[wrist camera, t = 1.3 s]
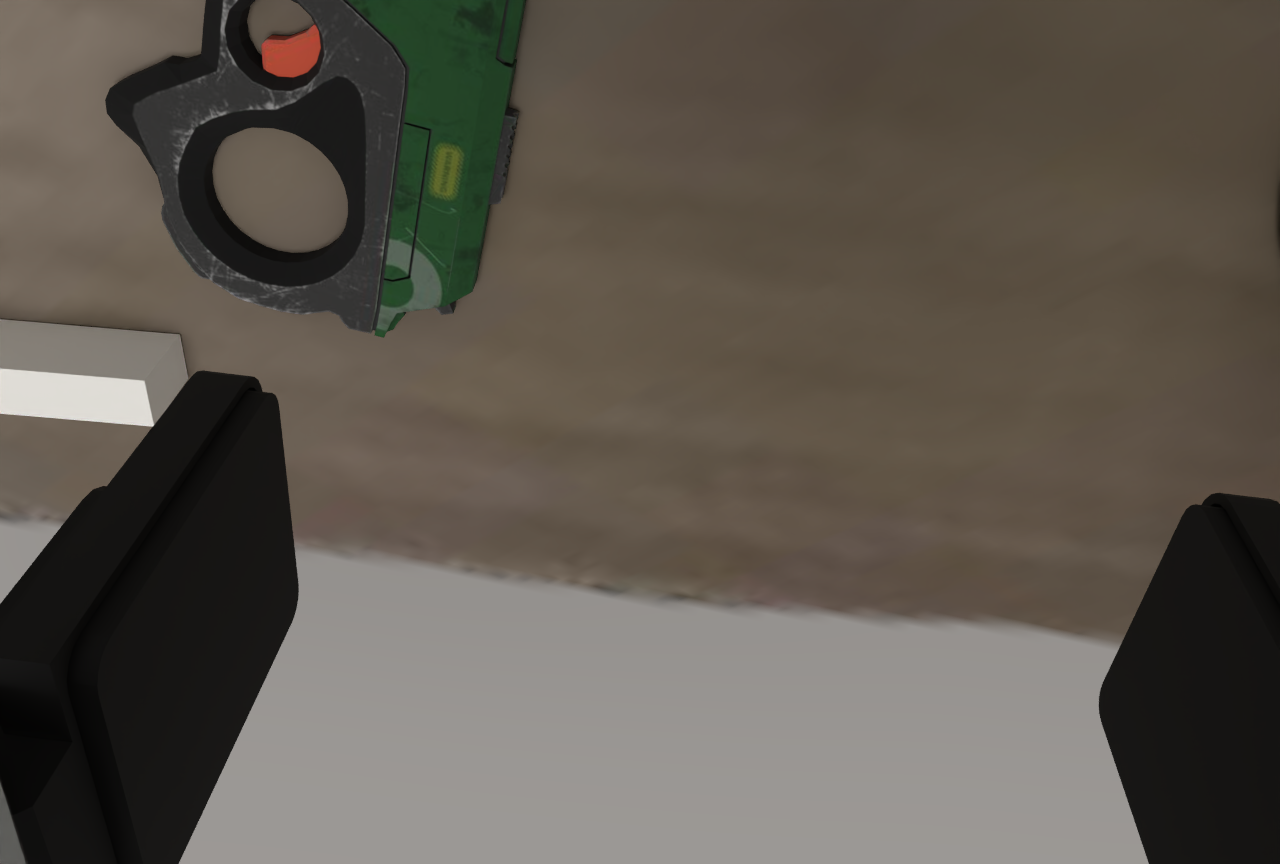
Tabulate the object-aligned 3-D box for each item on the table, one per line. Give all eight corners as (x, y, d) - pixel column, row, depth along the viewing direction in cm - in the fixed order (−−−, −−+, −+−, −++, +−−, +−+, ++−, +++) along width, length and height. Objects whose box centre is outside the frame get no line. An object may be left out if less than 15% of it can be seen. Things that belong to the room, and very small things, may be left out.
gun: (78, -487, 21) (599, -331, 22) (112, -480, 22) (604, -332, 23) (103, 270, 30) (469, 357, 31) (126, 247, 31) (478, 332, 32)
